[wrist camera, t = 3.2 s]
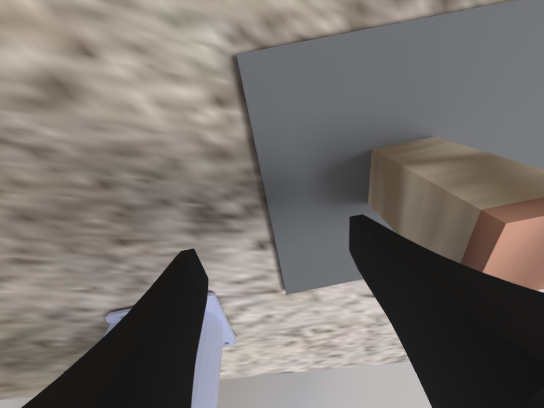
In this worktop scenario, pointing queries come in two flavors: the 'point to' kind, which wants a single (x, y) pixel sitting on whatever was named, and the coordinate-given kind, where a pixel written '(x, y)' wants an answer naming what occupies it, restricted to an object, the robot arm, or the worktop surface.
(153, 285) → the robot arm
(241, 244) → the worktop surface
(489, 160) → the block
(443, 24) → the mat
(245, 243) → the worktop surface
